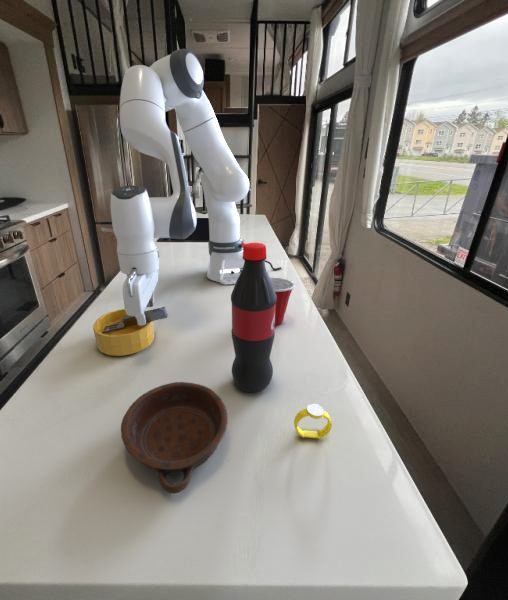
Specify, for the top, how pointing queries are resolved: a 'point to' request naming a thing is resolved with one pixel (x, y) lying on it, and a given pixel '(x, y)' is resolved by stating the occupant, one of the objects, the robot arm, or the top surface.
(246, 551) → the top surface
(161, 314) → the grey spatula
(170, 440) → the dish
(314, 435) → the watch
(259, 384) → the cola bottle
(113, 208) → the robot arm
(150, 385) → the top surface
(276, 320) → the plastic cup
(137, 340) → the bowl
